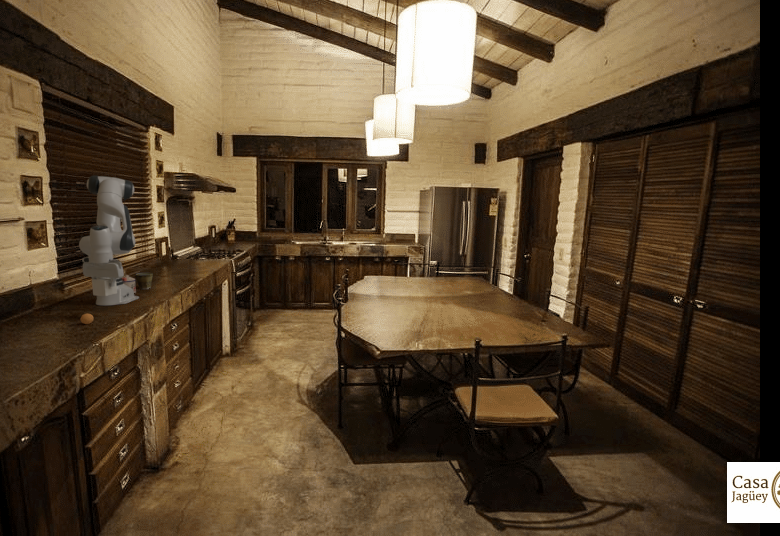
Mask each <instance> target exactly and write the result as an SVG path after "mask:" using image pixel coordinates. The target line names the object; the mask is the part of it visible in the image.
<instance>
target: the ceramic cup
mask: <svg viewBox="0 0 780 536" xmlns="http://www.w3.org/2000/svg"><path fill="white" fill-rule="evenodd" d="M153 275H154V274H153V272H139V273H136V274H135V280H136V282H137V285H138V289H139V290H150V289H151V288H152V281H153V277H154V276H153ZM149 288H150V289H149Z"/></svg>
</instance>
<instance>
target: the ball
mask: <svg viewBox="0 0 780 536" xmlns="http://www.w3.org/2000/svg"><path fill="white" fill-rule="evenodd" d="M80 322H81V323H82V324H85V325H90V324H91V323H93V322H94V316H93V315H92V314H91V313H84V314H82V315H81V317H80Z"/></svg>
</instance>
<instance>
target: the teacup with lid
mask: <svg viewBox="0 0 780 536" xmlns="http://www.w3.org/2000/svg"><path fill="white" fill-rule="evenodd" d="M123 278H127V281H123V282H124V283H123V284H125V285H127V286H128V287H130V288H132V289H133V291H134V293H135V294H136V293H137V289H136V278H134V277H131V276H130V275H127V274H126V275H124V276H123Z"/></svg>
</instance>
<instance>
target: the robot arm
mask: <svg viewBox="0 0 780 536" xmlns="http://www.w3.org/2000/svg"><path fill="white" fill-rule="evenodd" d="M86 188H87V190H88V191H87V192H89V194H92V195H96V204H97V205H96V206H97V214H96V225H95V226H94V225H93V226H92V227H90V230H89V235H86V236H83V237H81V238H80V240H79V243H78V245H79V246H78V247H79V249H80V251H81V252H82V253H83V254H85V255H87V256H86V257H83V258H81V261H82V274H83V276H84V277H87V278H89V277H91V281H92V280H93V279H98V278H110V279H111V280H112V281H111V283H109V286H110V287H114V286H115V281H116V285H117V293H116V294H112V295H108V296H97V295H96V300H95V305H97V306H115V305H125V304H128V303H130V302H133V301H136V300H138V299H140V296H138V295H135V294H134V291H133V289H132V288H130V287H128V286H127V285H125V284H123V283H124V282H123V281H127V278H124V277H125V274H124V268H123V264H122V262H121V261H120V260H119V259H114V255H115V256H116V255H126V254H129V253H131V251H133V248H135V246H136V237H135V235H134V231H133V223H132V219H131V218H132V217H131V214H130V210H129V208H128V206H127V205H125V204H124V203H123V202H126V200H129V199H130V198H132V197H133V195H134V193H135V187H134V184H133V182H132V181H131V180H127V179H123V178H118V177H115V176H113V177H111V176H102V175H101V176H99V175H90V176H89V177H88V179H87V181H86ZM121 222H122V226H121ZM121 227H122V228H121Z"/></svg>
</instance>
